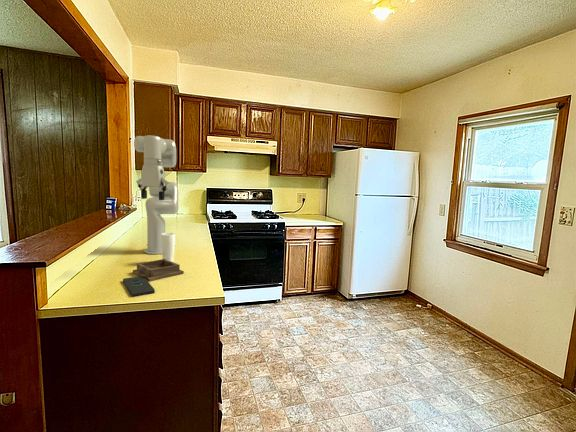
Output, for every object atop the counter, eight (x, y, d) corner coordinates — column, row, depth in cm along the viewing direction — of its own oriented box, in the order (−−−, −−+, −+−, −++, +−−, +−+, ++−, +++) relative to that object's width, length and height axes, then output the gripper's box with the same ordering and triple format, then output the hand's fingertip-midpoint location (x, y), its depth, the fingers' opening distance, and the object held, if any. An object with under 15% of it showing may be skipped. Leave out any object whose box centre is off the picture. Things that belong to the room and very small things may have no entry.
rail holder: (132, 272, 140) (132, 263, 139) (165, 266, 152) (165, 257, 152) (149, 281, 130) (149, 271, 129) (183, 273, 142) (183, 264, 141)
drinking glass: (170, 264, 154) (170, 235, 152) (158, 263, 156) (158, 234, 154) (177, 261, 161) (177, 233, 159) (166, 260, 162) (166, 232, 160)
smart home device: (143, 275, 133) (155, 289, 118) (143, 279, 134) (155, 294, 118) (122, 278, 128) (131, 293, 113) (122, 282, 129) (131, 298, 113)
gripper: (173, 164, 145) (173, 200, 147) (142, 162, 149) (142, 197, 151) (163, 163, 138) (163, 201, 140) (131, 161, 142) (131, 198, 144)
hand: (152, 199), depth 146 cm, fingers open, 9 cm apart
